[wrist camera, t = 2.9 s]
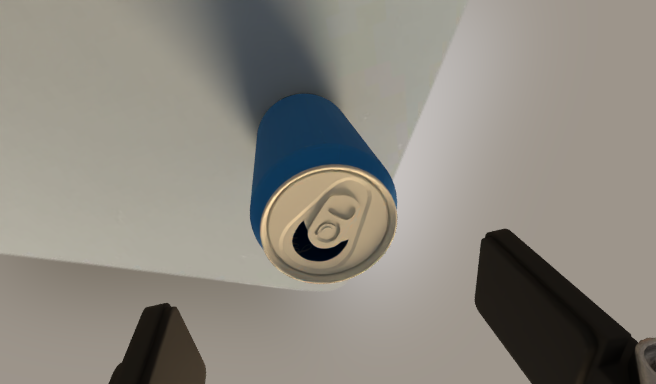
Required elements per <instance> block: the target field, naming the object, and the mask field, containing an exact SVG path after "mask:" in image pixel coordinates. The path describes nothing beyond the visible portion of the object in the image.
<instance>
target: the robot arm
mask: <svg viewBox="0 0 656 384" xmlns="http://www.w3.org/2000/svg"><path fill="white" fill-rule="evenodd" d="M475 305H476V307H477V309H478V311H479V313H480V314H481V315H482V317H483V318H484V319H485V321H486V322H487V323H488V325H489V326H490V327H491V329H492V330H493V331H494V333H495V334H496V336H497V337H498V338H499V340H500V341H501V343H502V344H503V345H504V347H505V348H506V349H507V351H508V352H509V353H510V355H511V356H512V357H513V359H514V360H515V362H516V363H517V364H518V366H519V367H520V368H521V370H522V371H523V372H524V374H525V375H526V377H527V378H528V379H529V381H530V382H531V383H532V384H656V338H646V339H644V340H641V341H640V342H639V343H638V342H637V341H636V340H635V339H634V338H632V337H631V334H630V333H629V332H628V331H626V330H625V329H624V328H623V327H622V326H621V325H619V324H618V323H617V322H616V321H615V320H613V319H612V318H611V317H610V316H609V315H608V314H606V313H605V312H604V311H603V310H602V309H601V308H599V307H598V306H597V305H596V304H595V303H594V302H593V301H591V300H590V299H589V298H588V297H587V296H585V295H584V294H583V293H582V292H581V291H580V290H579V289H578V288H576V287H575V286H574V285H573V284H572V283H570V282H569V281H568V280H567V279H566V278H565V277H564V276H562V275H561V274H560V273H559V272H558V271H556V270H555V269H554V268H553V267H552V266H551V265H550V264H548V263H547V262H546V261H545V260H544V259H542V258H541V257H540V256H539V255H538V254H537V253H535V252H534V251H533V250H532V249H531V248H530V247H529V246H527V245H526V244H525V243H524V242H523V241H521V240H520V239H519V238H518V237H517V236H516V235H515V234H514V233H512V232H511V231H510V230H508V229H501V230H497V231H492V232H488V233H487V234H486V236H485V238H483V239H482V240H481V247H480V256H479V265H478V275H477V283H476V293H475ZM205 379H206V368H205V364H204V362H203V360H202V358H201V356H200V353H199V351H198V349H197V347H196V345H195V343H194V341H193V339H192V337H191V335H190V333H189V331H188V329H187V327H186V325H185V323H184V321H183V319H182V317H181V315H180V313H179V311H178V309H177V307H171V306H170V304H168V303H164V304H159V305H155V306H150V307H146V308H145V309H144V311H143V313H142V315H141V317H140V320H139V322H138V325H137V327H136V329H135V332H134V334H133V337H132V339H131V342H130V344H129V347H128V349H127V351H126V354H125V356H124V359H123V361H122V363H120V364H119V365H118V366H117V367H116V369H115V371H114V372H113V374H112V377H111V379H110V382H109V384H205Z"/></svg>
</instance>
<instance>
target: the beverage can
mask: <svg viewBox="0 0 656 384" xmlns="http://www.w3.org/2000/svg"><path fill="white" fill-rule="evenodd" d="M396 197H397V196H396V190H395V187H394V183H393V181H392V179H391V176H390V175H389V173H388V172H387V170H386V169H385V167H384V166H383V165H382V163H381V162H380V161H379V159H378V158H377V157H376V156H375V154H374V153H373V152H372V150H371V149H370V148H369V147H368V145H367V144H366V143H365V141H364V140H363V139H362V138H361V136H360V135H359V134H358V132H357V131H356V130H355V129H354V127H353V126H352V125H351V123H350V122H349V121H348V119H347V118H346V117H345V116H344V114H343V113H342V112H341V111H340V109H339V108H338V107H337V106H336V105H335V104H333V103H332V102H331V101H329V100H327V99H325V98H323V97H321V96H318V95H314V94H295V95H291V96H288V97H285V98H283V99H281V100H279V101H278V102H276V103H275V104H274V105H273V106H272V107H270V108H269V110H268V111H267V112H266V113H265V115H264V116H263V118H262V120H261V122H260V125H259V128H258V133H257V143H256V153H255V163H254V174H253V184H252V195H251V205H250V220H251V225H252V229H253V232H254V235H255V237H256V239H257V241H258V243H259V244H260V246H261V247H262V248H263V250H264V252H265V254H266V256H267V257H268V259H269V260H270V261H271V263H272V264H273V265H274V266H275V267H276V268H277V269H278V270H280V271H281V272H282V273H284V274H286V275H287V276H289V277H291V278H294V279H296V280H299V281H303V282H307V283H315V284H327V283H335V282H340V281H344V280H347V279H350V278H353V277H355V276H357V275H359V274H361V273H363V272H364V271H366V270H367V269H369V268H370V267H371V266H373V265H374V264H375V263H376V262H377V261H378V260H379V259H380V258H381V257H382V256H383V255H384V254H385V252H386V251H387V249H388V248H389V246H390V244H391V242H392V240H393V238H394V235H395V231H396V227H397V198H396Z"/></svg>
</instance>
